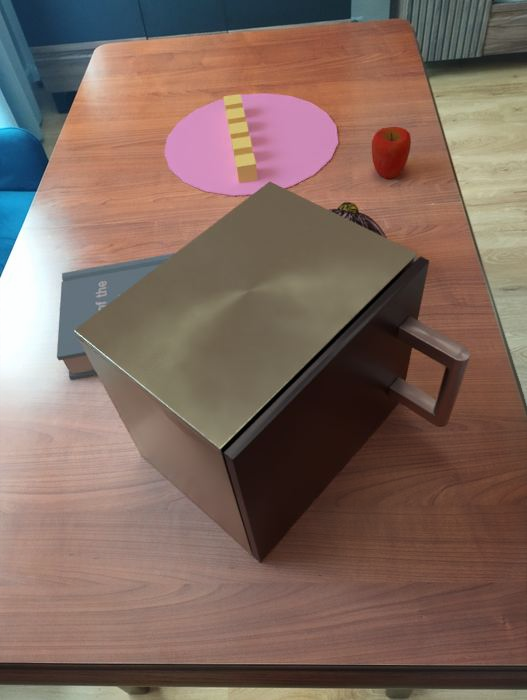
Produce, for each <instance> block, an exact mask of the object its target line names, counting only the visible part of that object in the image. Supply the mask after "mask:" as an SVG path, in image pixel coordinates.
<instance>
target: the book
mask: <svg viewBox="0 0 527 700" xmlns="http://www.w3.org/2000/svg"><path fill="white" fill-rule="evenodd" d="M175 253H176V252H175ZM175 253H174V252H173V253H168V254H162V255H161V254H160V255H156V256H150V257H145V258H140V259H133V260H128V261H123V262H117V263H112V264H105V265H100V266H95V267H88V268H83V269H78V270H72V271H66V272H62V273H61V274H62V275H61V279H62V280H61V288H60V302H59V303H60V304H59V318H58V319H59V321H58V334H57V348H56V349H57V350H56V358H57V360H58V361H63V363H64V365H65V366H66V368H67V370H68V378H69V379H70V380H76V379H77V380H78V379H83V378H88V377H93V376H98V375H97V373H96V371H95V369H94V367H93V365H92V364H91V362H90V360H89V358H88V356H87V354H86V352H85V351H84V349H83V347H82V345H81V343H80V341H79V339H78V338H77V336H76V334H75V332H74V330H75V329H76V328H78V327H79V326H80V325H82V324H83V323H84V322H86V321H87V320H88V319H90V318H91V317H92V316H93V315H95V314H96V313H97V312H99V311H100V310H101V309H103V308H104V307H105V306H107V305H108V304H109V303H111V302H112V301H113V300H114V299H116V298H117V297H118V296H120V295H121V294H122V293H124V292H125V291H126V290H128V289H129V288H130V287H132V286H133V285H134V284H136V283H137V282H138V281H139V280H141V279H142V278H143V277H145V276H146V275H147V274H149V273H150V272H151V271H153V270H154V269H155V268H157V267H158V266H159V265H161V264H162V263H163V262H164V261H166V260H167V259H168V258H170V257H171V256H172V255H174V254H175Z"/></svg>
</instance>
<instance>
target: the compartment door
mask: <svg viewBox="0 0 527 700" xmlns="http://www.w3.org/2000/svg"><path fill="white" fill-rule="evenodd" d="M429 265H430V260H429V259H427V258H425V257H423V256H419V257H417V260H416V261H415V262H414V263H413V264H412V265H411V266H410V267H409V268H408V269H407V270H406V271H405V272H404V273H403V274H402V275H401V276H400V277H399V278H398V279H397V280H396V281H395V282H394V283H393V284H392V285H391V286H390V287H389V288H388V289H387V290H386V291H385V292H384V293H383V294H382V295H381V296H380V297H379V298H378V299H377V300H376V301H375V302H374V303H373V304H372V305H371V306H370V307H369V308H368V309H367V310H366V311H365V312H364V313H363V314H362V315H361V316H360V317H359V318H358V319H357V320H356V321H355V322H354V323H353V324H352V325H351V326H350V327H349V328H348V329H347V330H346V331H345V332H344V333H343V334H342V335H341V336H340V337H339V338H338V339H337V340H336V341H335V342H334V343H333V344H332V345H331V346H330V347H329V348H328V349H327V350H326V351H325V352H324V353H323V354H322V355H321V356H320V357H319V358H318V359H317V360H316V361H315V362H314V363H313V364H312V365H311V366H310V367H309V368H308V369H307V370H306V371H305V372H304V373H303V374H302V375H301V376H300V377H299V378H298V379H297V380H296V381H295V382H294V383H293V384H292V385H291V386H290V387H289V388H288V389H287V390H286V391H285V392H284V393H283V394H282V395H281V396H280V397H279V398H278V399H277V400H276V401H275V402H274V403H273V404H272V405H271V406H270V407H269V408H268V409H267V410H266V411H265V412H264V413H263V414H262V415H261V416H260V417H259V418H258V419H257V420H256V421H255V422H254V423H253V424H252V425H251V426H250V427H249V428H248V429H247V430H246V431H245V432H244V433H243V434H242V435H241V436H240V437H239V438H238V439H237V440H236V441H235V442H234V443H233V444H232V445H231V446H230V447H229V448H228V449H227V450H226V451H225V452H224V456H225V460H226V463H227V466H228V470H229V473H230V477H231V480H232V483H233V487H234V490H235V494H236V497H237V501H238V504H239V507H240V511H241V514H242V518H243V521H244V524H245V528H246V531H247V535H248V538H249V541H250V545H251V548H252V552H253V555H252V556H253V558H254V559H256V560H257V562H258V563H260V564H261V563H262V562H263V561H264V560H265V559H266V558H267V557H268V556H269V554H270V553H271V552H272V551H273V550H274V548H276V546H277V545H278V544H279V543H280V542H281V541H282V539H283V538H284V537H285V536H286V535H287V534H288V533H289V531H290V530H291V529H292V528H293V527H294V526H295V525H296V523H297V522H298V521H299V520H300V519H301V517H302V516H303V515H304V514H305V512H307V511H308V509H310V507H311V506H312V505H313V504H314V503H315V502H316V500H317V499H318V498H319V497H320V496H321V494H322V493H323V492H324V491H325V490H326V489H327V488H328V486H329V485H331V483H332V482H333V481H334V480H335V478H336V477H337V476H338V475H339V474H340V473H341V472H342V470H343V469H344V468H345V467H346V465H347V464H349V462H351V460H352V459H353V458H354V456H355V455H356V454H357V453H358V452H359V451H360V450H361V448H362V447H363V446H364V445H365V444H366V443H367V442H368V440H369V439H370V438H371V437H372V436H373V435H374V433H375V432H376V431H377V430H378V429H380V426H382V424H383V423H384V421H385V420H387V419H388V418H389V416H390V415H391V414H392V413H393V412H394V411H395V409H396V408H397V407H398V406H399V405H401V406H403V407H405V408H407V409H408V410H409V411H411V412H413V413H414V414H416V415H417V416H419V417H420V418H422V419H423V420H425V421H427V422H428V423H430V424H431V425H433V426H435V427H436V428H445V427H446V426H448V424H449V422H450V419H451V415H452V413H453V411H454V410H453V409H454V406H455V405H456V404H455V403H456V401H457V397H458V395H459V391H460V389H461V387H462V386H461V385H462V383H463V380H464V377H465V373H466V370H467V367H468V364H469V362H470V359H471V350H470V349H469V348H468V347H467V346H465V345H463V344H461V343H460V342H458V341H456V340H454V339H453V338H451V337H449V336H446V335H445V334H443V333H441V332H439V331H437V330H436V329H434V328H432V327H431V326H429V325H427V324H425V323H423V322H421V321H419V317H420V312H421V306H422V301H423V295H424V290H425V286H426V281H427V277H428V270H429ZM413 349H414V350H415V351H418V352H419V353H421V354H423V355H425V356H426V357H428V358H429V359H431V360H433V361H435V362H436V363H438V364H440V365H441V366H444V371H443V374H442V378H441V380H440V381H441V382H440V385H439V388H438V392H437V396H436V398H434V397H432V396H431V395H430V394H428V393H426V392H424V391H423V390H421V389H420V388H418V387H417V386H415V385H413V384H412V383H410V382H408V381H407V377H408V372H409V367H410V362H411V357H412V351H413Z"/></svg>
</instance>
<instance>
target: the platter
mask: <svg viewBox="0 0 527 700" xmlns="http://www.w3.org/2000/svg"><path fill="white" fill-rule="evenodd" d="M338 145H339V135H338V126H337V125H336V123H335V121H334V120H333V118H331V116H330V115H329V113H328V112H327V111H325V110H324V109H322V108H321V107H318V106H317V105H316V104H314V103H313V102H312V101H308V100H305V99H301V98H299V97H295V96H292V95H289V94H288V95H287V94H286V95H285V94H277V93H269V92H268V93H267V92H264V93H251V94H250V93H248V94H241V93H238V94H231V95H224V96H223V98H221V99H218V100H214V101H213V102H210V103H208V104H206V105H203V106H201V107H199V108H197V109H194V110H193V111H192V112H191V113H189V114H188V115H186V116H185V117H184V118H182V119H181V120H180V121H178V122H176V125H174V127H173V129H172V130H171V131H170V133H169V134H168V136H167V137H166V140H165V146H164V150H163V155H164V158H165V161H166V163H167V166H168V169H169V171H170V172H172V173H173V174H174V175H175V176H176V177H177V178H178V179H179V180H180V181H181V182H182V183H184V184H186V185H187V186H190V187H192V188H195V189H198V190H200V191H202V192H205V193H210V194H217V195H224V196H228V197H240V196H243V197H244V196H251V195H253V194H254V193H255V192H256V191H258V190H259V189H260V188H262V187H263V186H264V185H266V184H267V183H268V182H272V183H274V184H276V185H278V186H280V187H282V188H284V189H286V190H287V189H288V188H292V187H294V186H296V185H298V184H301V183H302V182H304V181H306V180H307V179H309V178H311V177H313V176H315V175H316V174H317V173H319V171H321V170H322V169H323V168H324V167H325V166H326V165H327V164H328V163H329V162H330V161H331V160H332V158H333V157H334V154H335V152H336V149H337V147H338Z"/></svg>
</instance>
